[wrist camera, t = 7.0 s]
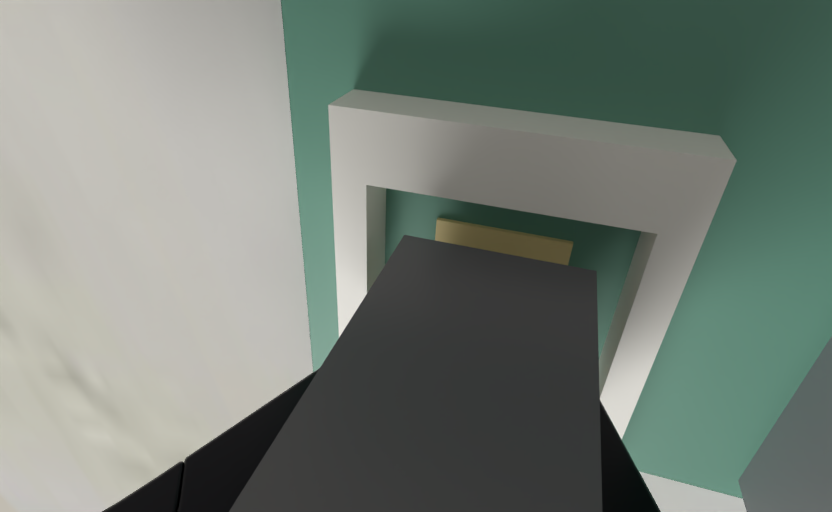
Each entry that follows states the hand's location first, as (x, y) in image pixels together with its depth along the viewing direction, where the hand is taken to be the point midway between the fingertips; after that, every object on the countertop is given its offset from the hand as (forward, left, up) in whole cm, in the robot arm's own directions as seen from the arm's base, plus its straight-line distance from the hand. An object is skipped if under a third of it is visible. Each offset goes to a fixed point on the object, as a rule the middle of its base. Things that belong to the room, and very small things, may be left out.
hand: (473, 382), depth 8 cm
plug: (0, 0, -1) cm, 1 cm away
